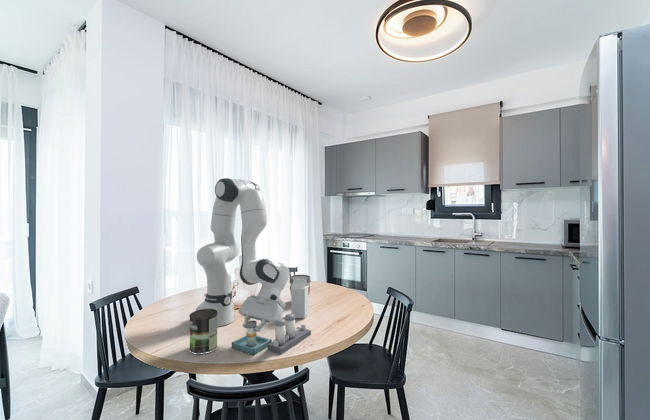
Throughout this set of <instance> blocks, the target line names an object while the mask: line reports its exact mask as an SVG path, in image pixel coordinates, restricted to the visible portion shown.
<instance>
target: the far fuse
mask: <svg viewBox="0 0 650 420" xmlns="http://www.w3.org/2000/svg"><path fill="white" fill-rule="evenodd" d="M274 325H275V326H274V327H275V328H274V329H275V330H274V331H275V332H274V333H275V336H274V337H275V339H274V340H276V341H278V346H281V345H284V344H285V334H286V318H281V319H279V320H277V321H275V324H274Z"/></svg>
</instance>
